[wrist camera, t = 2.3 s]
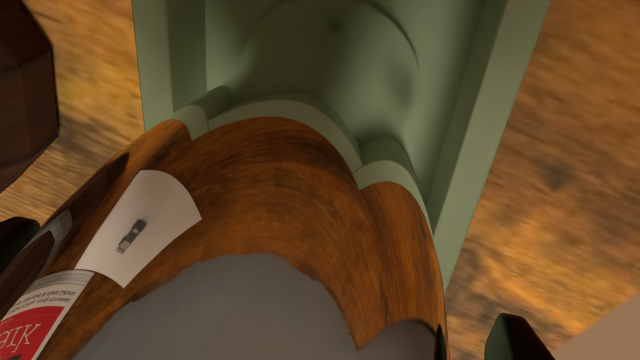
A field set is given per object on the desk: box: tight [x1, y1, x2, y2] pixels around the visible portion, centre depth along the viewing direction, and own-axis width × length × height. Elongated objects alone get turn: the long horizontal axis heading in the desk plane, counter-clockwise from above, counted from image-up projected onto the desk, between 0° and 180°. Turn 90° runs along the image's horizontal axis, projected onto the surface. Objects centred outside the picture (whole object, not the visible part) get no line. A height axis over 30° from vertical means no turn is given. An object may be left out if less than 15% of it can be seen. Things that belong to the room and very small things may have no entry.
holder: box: [131, 0, 551, 295], centre depth 19 cm, size 10×20×4 cm, turn 174°
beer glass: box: [0, 0, 450, 360], centre depth 11 cm, size 7×7×15 cm
